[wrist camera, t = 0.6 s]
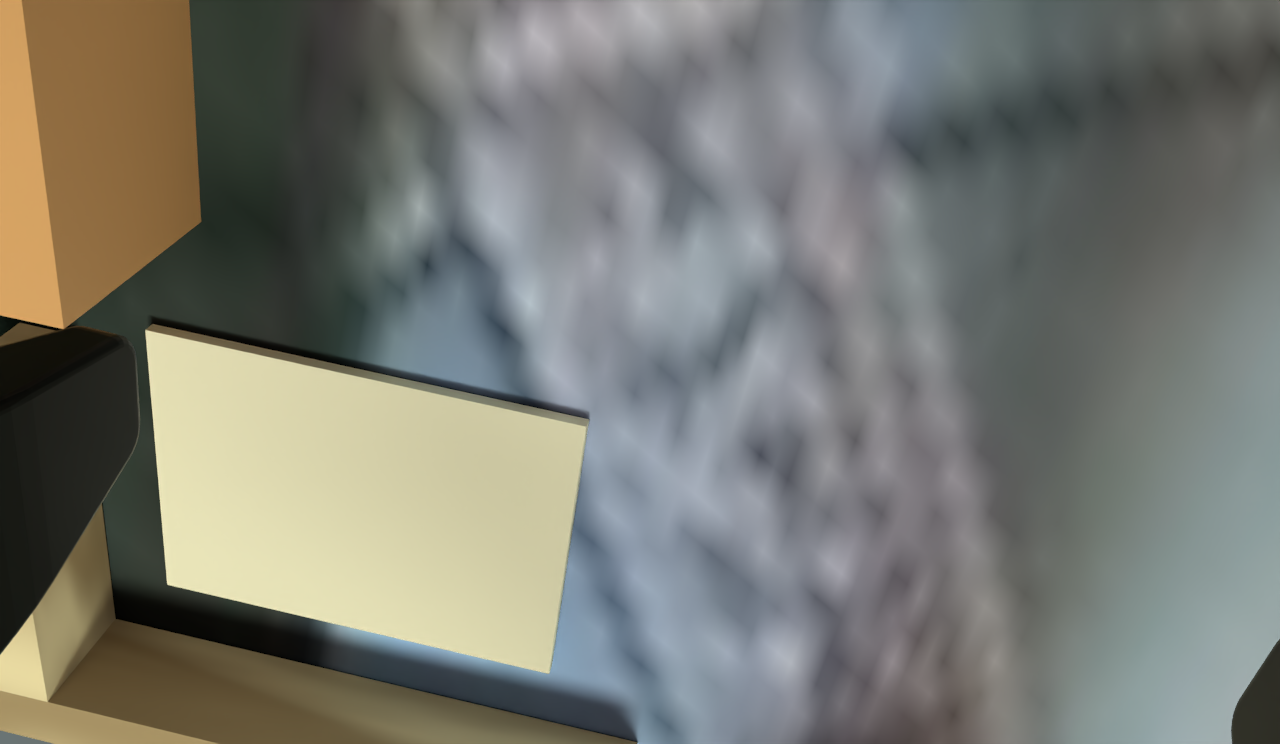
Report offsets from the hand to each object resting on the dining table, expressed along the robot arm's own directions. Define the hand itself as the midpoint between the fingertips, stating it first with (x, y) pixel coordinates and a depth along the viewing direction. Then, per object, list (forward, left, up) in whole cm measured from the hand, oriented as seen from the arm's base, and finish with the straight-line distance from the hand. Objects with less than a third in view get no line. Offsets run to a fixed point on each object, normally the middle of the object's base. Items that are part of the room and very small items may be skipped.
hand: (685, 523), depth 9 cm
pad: (-12, +7, -14) cm, 20 cm away
